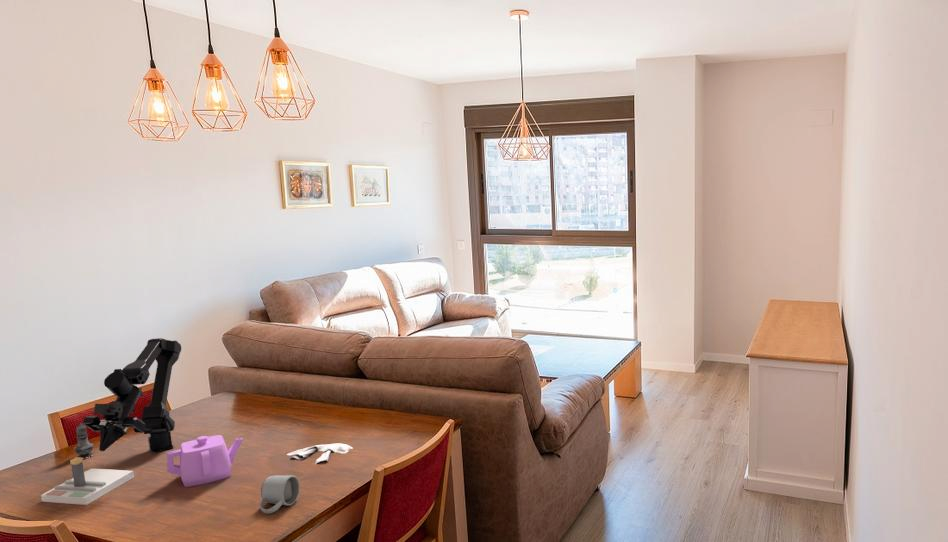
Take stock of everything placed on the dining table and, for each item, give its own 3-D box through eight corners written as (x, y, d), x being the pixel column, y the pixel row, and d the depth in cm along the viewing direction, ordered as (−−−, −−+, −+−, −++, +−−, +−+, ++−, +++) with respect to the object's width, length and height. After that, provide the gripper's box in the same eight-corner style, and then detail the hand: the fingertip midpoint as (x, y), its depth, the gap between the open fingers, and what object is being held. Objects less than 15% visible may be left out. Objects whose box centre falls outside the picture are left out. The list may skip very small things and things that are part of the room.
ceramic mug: (276, 494, 183) (273, 468, 182) (301, 497, 180) (298, 471, 179) (252, 513, 173) (249, 486, 172) (278, 516, 170) (275, 489, 169)
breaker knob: (80, 484, 193) (76, 457, 192) (86, 484, 192) (82, 457, 191) (74, 487, 191) (70, 460, 190) (80, 488, 190) (76, 460, 189)
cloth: (361, 447, 215) (361, 440, 214) (320, 475, 195) (319, 467, 195) (312, 440, 223) (312, 434, 223) (268, 467, 204) (267, 459, 204)
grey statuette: (85, 460, 218) (80, 426, 216) (70, 459, 219) (65, 425, 217) (99, 453, 223) (94, 419, 222) (84, 452, 225) (79, 419, 223)
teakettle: (163, 486, 193) (158, 446, 192) (202, 462, 210) (198, 425, 208) (211, 490, 188) (206, 449, 187) (247, 465, 205) (243, 428, 203)
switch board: (92, 474, 205) (91, 466, 205) (134, 476, 201) (133, 468, 201) (41, 501, 188) (40, 492, 188) (86, 504, 184) (85, 495, 184)
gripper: (83, 390, 199) (57, 438, 190) (133, 391, 195) (109, 440, 185) (106, 407, 208) (82, 453, 198) (155, 408, 203) (133, 456, 194)
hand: (101, 450), depth 194 cm, fingers closed
